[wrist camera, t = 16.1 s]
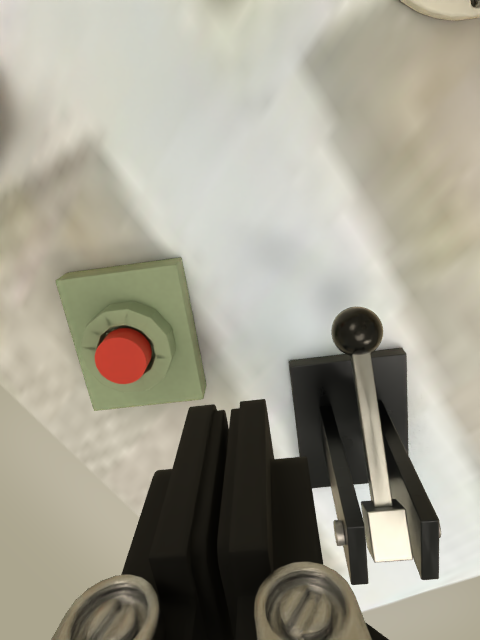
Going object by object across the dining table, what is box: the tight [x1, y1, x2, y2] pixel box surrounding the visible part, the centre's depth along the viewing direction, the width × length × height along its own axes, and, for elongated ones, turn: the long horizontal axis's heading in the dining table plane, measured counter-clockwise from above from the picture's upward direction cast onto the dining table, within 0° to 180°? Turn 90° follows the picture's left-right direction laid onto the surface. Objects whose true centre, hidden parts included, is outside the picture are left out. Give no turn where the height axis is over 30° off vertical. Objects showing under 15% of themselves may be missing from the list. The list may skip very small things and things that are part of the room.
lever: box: [331, 307, 413, 562], centre depth 28 cm, size 15×3×3 cm, turn 8°
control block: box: [56, 257, 206, 411], centre depth 35 cm, size 11×9×4 cm
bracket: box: [289, 348, 441, 585], centre depth 32 cm, size 12×9×14 cm
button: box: [95, 328, 152, 384], centre depth 32 cm, size 4×4×2 cm
